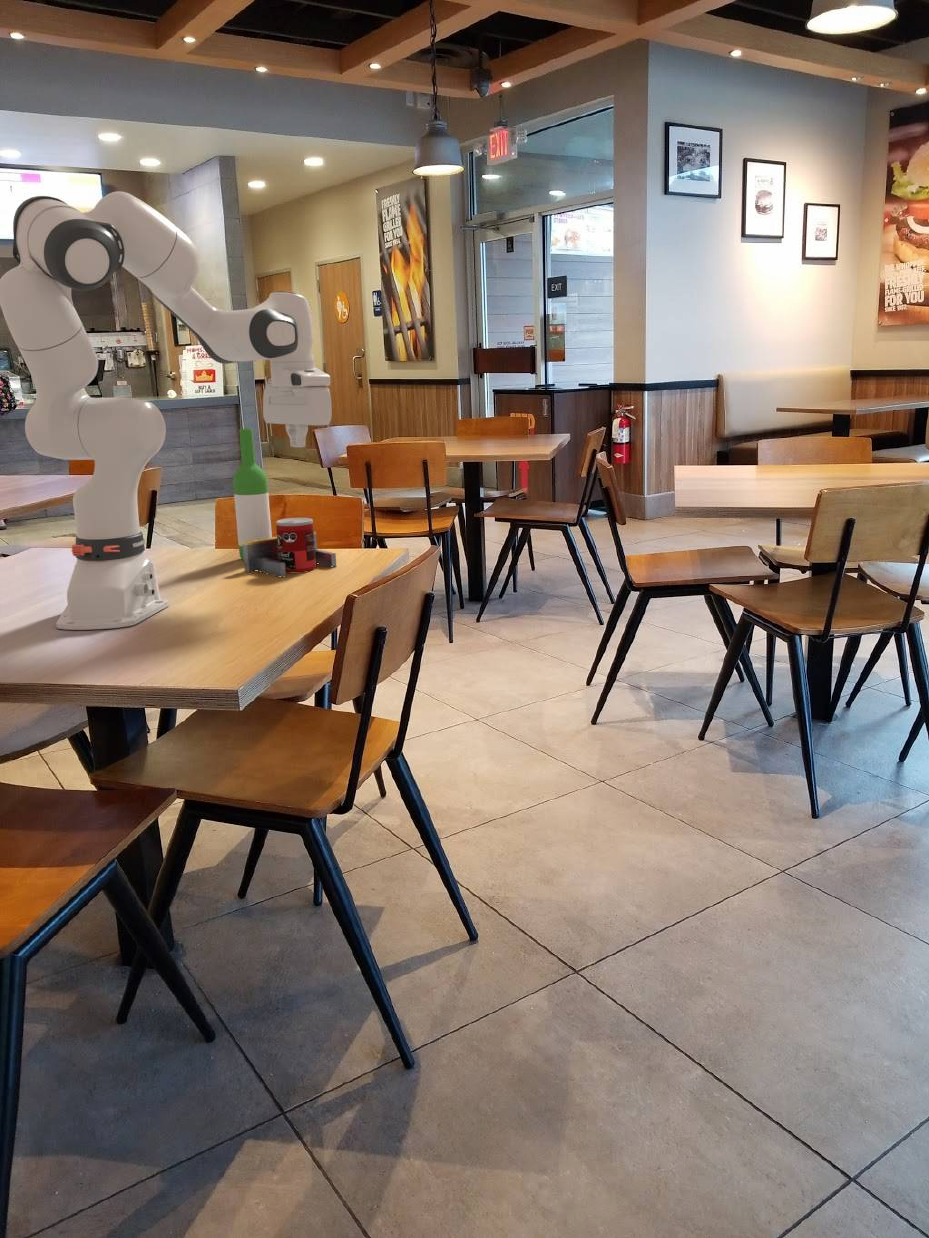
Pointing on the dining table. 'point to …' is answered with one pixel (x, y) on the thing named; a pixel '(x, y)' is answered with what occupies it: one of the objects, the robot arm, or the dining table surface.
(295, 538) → the canned food
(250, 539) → the wine bottle
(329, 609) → the dining table surface
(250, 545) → the loading bay
